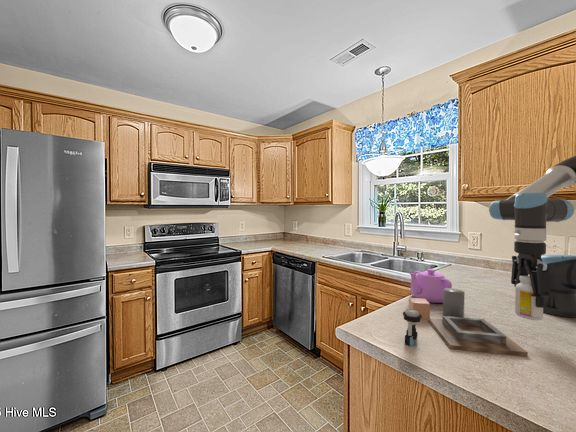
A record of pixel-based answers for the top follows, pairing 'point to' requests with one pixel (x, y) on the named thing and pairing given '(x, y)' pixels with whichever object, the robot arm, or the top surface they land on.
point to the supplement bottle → (524, 298)
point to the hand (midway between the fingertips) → (528, 311)
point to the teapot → (429, 285)
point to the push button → (411, 326)
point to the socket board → (474, 336)
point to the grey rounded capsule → (453, 302)
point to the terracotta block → (420, 306)
